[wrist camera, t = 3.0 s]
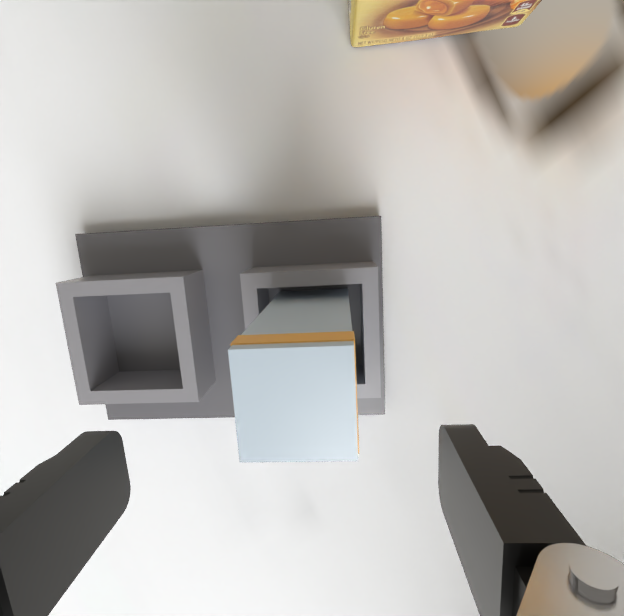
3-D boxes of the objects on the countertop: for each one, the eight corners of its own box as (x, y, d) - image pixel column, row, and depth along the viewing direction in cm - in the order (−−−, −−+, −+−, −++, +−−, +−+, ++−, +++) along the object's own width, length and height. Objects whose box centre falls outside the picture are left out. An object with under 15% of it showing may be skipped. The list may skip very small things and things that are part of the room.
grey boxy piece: (379, 216, 23) (387, 214, 19) (383, 407, 25) (391, 440, 21) (86, 233, 24) (37, 235, 20) (116, 412, 27) (78, 444, 23)
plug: (348, 287, 23) (355, 344, 12) (351, 354, 24) (360, 462, 13) (278, 290, 23) (226, 348, 13) (283, 356, 24) (238, 463, 13)
